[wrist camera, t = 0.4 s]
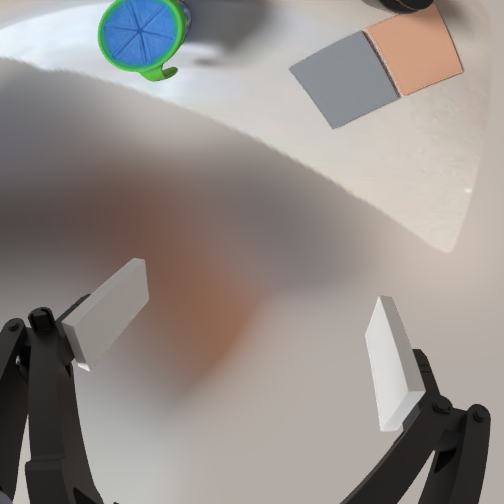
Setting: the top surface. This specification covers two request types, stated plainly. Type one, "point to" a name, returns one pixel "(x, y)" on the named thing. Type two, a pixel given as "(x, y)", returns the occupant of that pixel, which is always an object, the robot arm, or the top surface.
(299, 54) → the top surface
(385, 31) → the terracotta pad
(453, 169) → the top surface
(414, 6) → the supplement bottle
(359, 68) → the slate pad
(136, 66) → the snack cup
